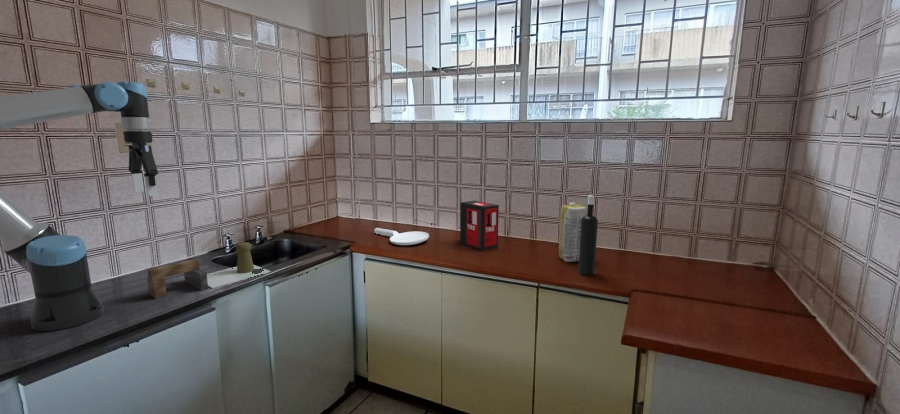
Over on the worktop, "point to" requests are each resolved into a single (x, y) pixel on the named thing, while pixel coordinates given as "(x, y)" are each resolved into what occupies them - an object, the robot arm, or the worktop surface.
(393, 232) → the frying pan
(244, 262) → the cork
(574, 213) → the juice carton
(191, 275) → the wooden arch block
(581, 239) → the wine bottle
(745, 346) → the worktop surface
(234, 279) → the plate
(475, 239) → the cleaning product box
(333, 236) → the worktop surface
